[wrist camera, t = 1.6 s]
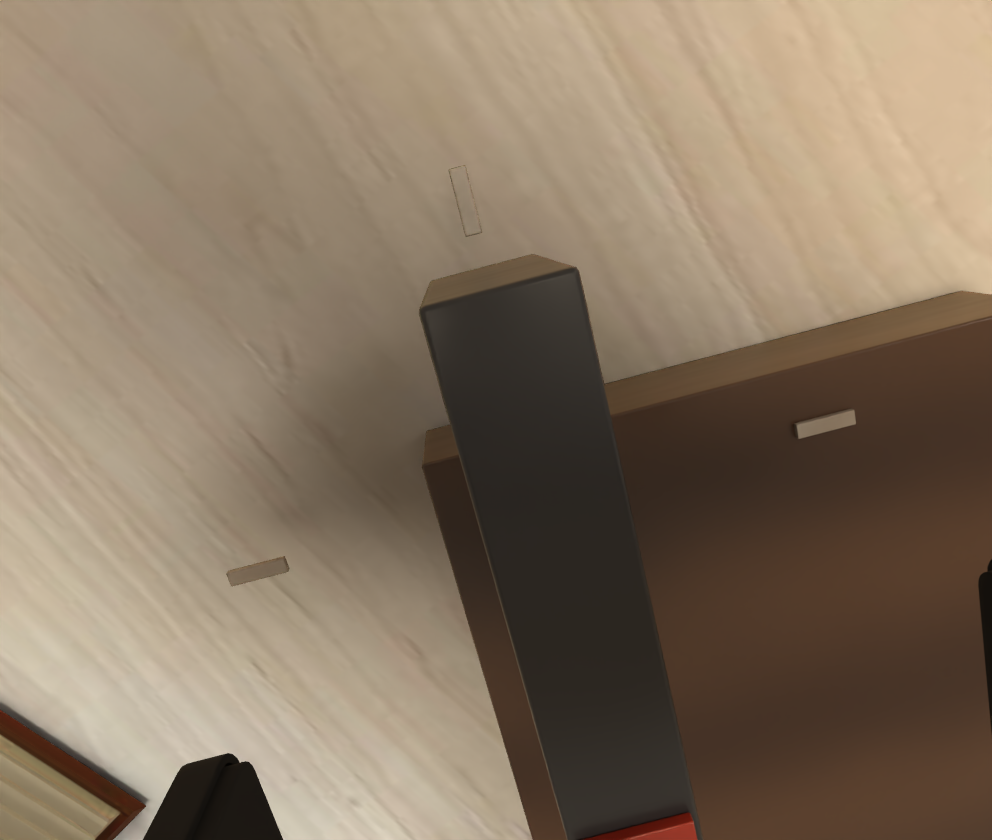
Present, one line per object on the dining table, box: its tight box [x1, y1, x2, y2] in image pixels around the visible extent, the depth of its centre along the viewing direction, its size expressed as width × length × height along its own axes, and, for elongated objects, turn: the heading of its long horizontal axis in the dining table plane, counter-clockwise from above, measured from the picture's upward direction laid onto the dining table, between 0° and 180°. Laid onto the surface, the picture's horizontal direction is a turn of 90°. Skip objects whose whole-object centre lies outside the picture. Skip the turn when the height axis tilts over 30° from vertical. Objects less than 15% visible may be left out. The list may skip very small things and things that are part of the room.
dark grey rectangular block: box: [419, 254, 703, 840], centre depth 14 cm, size 11×2×6 cm, turn 14°
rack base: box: [227, 165, 992, 840], centre depth 20 cm, size 24×20×3 cm
